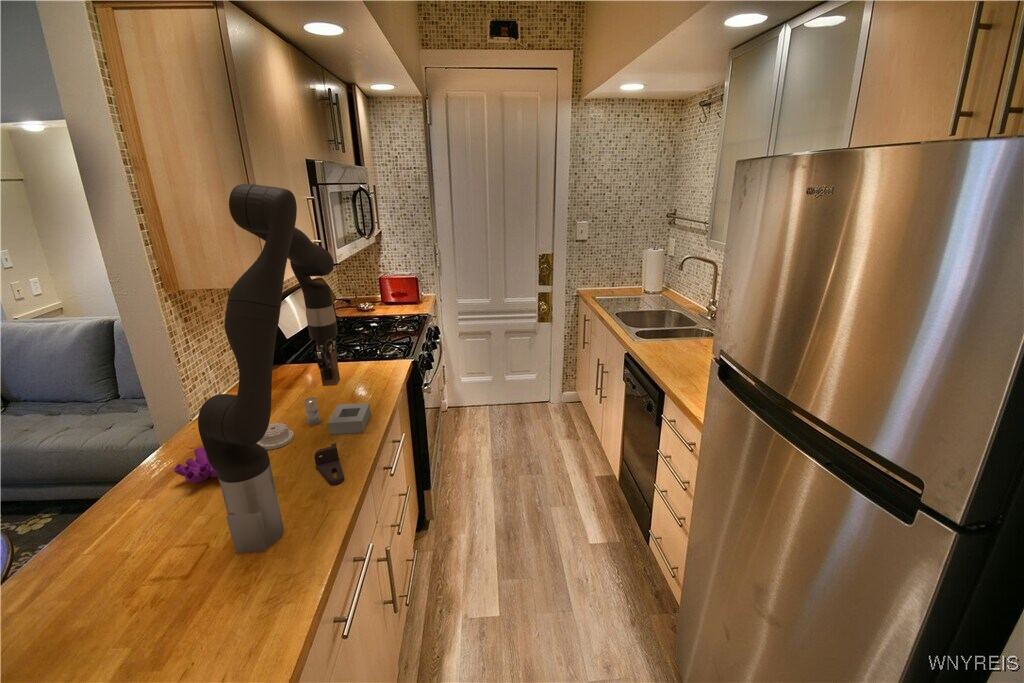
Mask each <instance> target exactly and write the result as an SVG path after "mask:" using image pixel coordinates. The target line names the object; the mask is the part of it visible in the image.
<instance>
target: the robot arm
mask: <svg viewBox="0 0 1024 683" xmlns="http://www.w3.org/2000/svg"><path fill="white" fill-rule="evenodd" d="M297 206H298V205H297V199H296V197H295V194H294V193H293V191H291V190H290V189H287V188H284V187H283V188H282V187H279V186H278V187H276V186H269V185H263V184H262V185H261V184H255V183H241V184H237V185H236V186H234V187H233V188H232V190H231V191H230V194H229V198H228V209H229V213H230V216H231V218H232V220H233V222H234V223H235V224H236V225H237V226H238V227H239V228H241V229H243V230H245V231H247V232H248V233H250V234H252V235H255V236H256V237H258V238H259V239H261V240H263V241H265V242H264V245H263V247H262V251H261V252H260V254H259V255H258V257H257V258H256V260H254V262H253V263H252V264H251V266H249V268H247V270H246V271H244V272H243V273H242V275H240V277H239V278H238V280H237V281H236V282H235V283H234V284H233V286H232V287H231V288H230V291H229V293H228V296H227V302H226V308H225V315H224V322H223V323H224V331H225V336H226V338H227V341H228V344H229V346H230V348H231V350H232V353H233V356H234V358H235V360H236V363H237V368H238V388H237V395H236V394H228V393H220V394H219V393H218V394H216V395H213V396H211V397H209V398H208V399H207V400H206V401H205V402H204V403H203V404H202V406H201V407H200V410H199V413H198V418H197V428H198V434H199V438H200V440H201V442H202V447H204V449H205V452H206V455H207V458H208V461H209V463H210V465H211V467H212V468H213V469H214V470H215V471H216V472H217V475H218V477H217V478H218V482H219V486H220V490H221V493H222V497H223V501H224V505H225V506H224V507H225V509H226V514H227V515H226V522H227V526H228V530H229V534H230V537H231V541H232V544H233V545H232V546H233V548H234V553H235V554H236V555H238V554H240V555H241V554H251V553H263V552H264V553H265V552H267V551H268V550H269V548H271V546H273V545H275V544H276V543H277V542H278V541H279V540H281V538H282V536H283V534H284V531H285V527H284V523H283V518H282V513H281V508H280V503H279V499H278V493H277V489H276V485H275V479H274V475H273V469H272V464H271V461H270V460H271V459H270V455H269V452H268V450H266V449H265V448H264V447H262V446H261V445H259V444H257V442H259V441H260V440H261V439H262V438H263V436H264V435H265V433H266V431H267V428H268V425H270V421H271V414H272V413H271V412H272V392H273V390H272V389H273V388H272V386H273V366H274V357H275V349H276V340H277V333H278V330H279V329H278V328H279V323H280V317H281V316H280V315H281V308H282V299H283V289H284V280H285V274H286V268H287V263H288V260H289V263H290V267H291V270H292V273H293V274H294V276H295V278H296V280H297V282H298V284H299V287H300V289H301V291H302V294H303V295H302V296H303V300H304V305H305V318H306V322H307V330H308V334H309V339H311V340H313V341H315V342H316V350H317V351H314V352H313V353H314V354H313V355H314V358H315V361H316V364H317V367H318V369H319V370H320V369H323V375H324V379H325V380H331V379H332V372H331V363H330V360H331V359H332V358H331V353H332V351H331V350H334V349H335V350H336V356H337V357H338V352H337V350H338V349H337V337H338V334H339V332H338V326H337V318H336V312H335V309H334V305H333V298H332V293H331V292H332V291H331V288H330V286H329V285H328V284H325V283H321V282H318V281H314V279H313V278H311V277H325V276H328V275H330V274H331V273H332V272H333V270H334V266H335V262H334V259H333V256H332V255H331V253H330V252H329V251H328V250H327V249H326V248H324V247H323V246H320V245H319V244H317V243H315V242H312V240H311V239H310V238H309V236H308V235H306V234H305V232H303V231H302V230H300V229H299V228H297V227H296V221H297V215H298V214H297V212H298V211H297V210H298V208H297ZM328 354H329V357H326V356H328ZM324 363H325V364H324Z"/></svg>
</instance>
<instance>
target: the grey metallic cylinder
mask: <svg viewBox="0 0 1024 683" xmlns="http://www.w3.org/2000/svg"><path fill="white" fill-rule="evenodd" d="M303 403H304V409H305V415H306V422H307V425H308V426H316V425H318V424H320V423H321V420H320V412H319V407H318V406H319V405H318V401H317V398H316V397H307V398H306V399H304V400H303Z"/></svg>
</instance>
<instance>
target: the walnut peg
mask: <svg viewBox="0 0 1024 683" xmlns="http://www.w3.org/2000/svg"><path fill="white" fill-rule="evenodd" d="M331 351H332V353H331V358H332V359H331V360H330V363H331V372H332V379H331V380H325V379H324V375H323V369H319V372H320V378H321V386H322V387H328V386H329V387H330V386H331V387H333V386H338V384H339V382H341V375H340V369H339V362H338V358H337V357H338V355H337V356H336V350H335V349H334V350H331ZM326 357H329V354H328V356H326ZM324 364H325V363H324Z"/></svg>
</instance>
